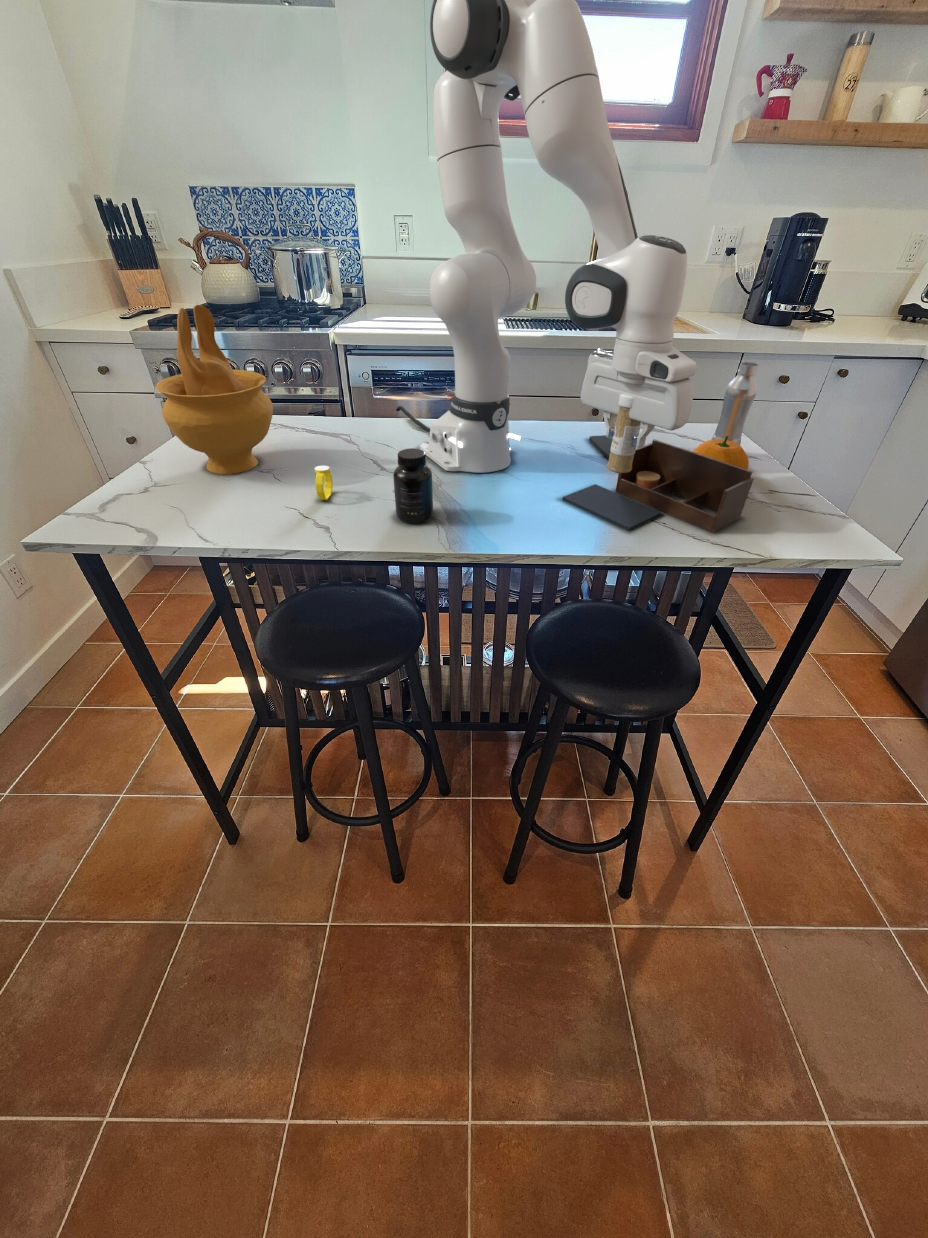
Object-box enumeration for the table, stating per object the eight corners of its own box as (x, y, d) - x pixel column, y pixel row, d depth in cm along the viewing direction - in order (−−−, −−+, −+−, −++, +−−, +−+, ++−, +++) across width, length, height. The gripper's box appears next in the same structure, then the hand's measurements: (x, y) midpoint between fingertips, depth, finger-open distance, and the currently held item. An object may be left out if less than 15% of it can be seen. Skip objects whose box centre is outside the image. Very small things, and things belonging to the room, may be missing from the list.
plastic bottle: (742, 457, 127) (773, 365, 115) (724, 463, 124) (754, 369, 112) (718, 449, 131) (745, 358, 119) (700, 454, 128) (726, 362, 116)
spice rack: (615, 491, 111) (623, 448, 106) (642, 480, 116) (651, 438, 110) (713, 533, 98) (729, 485, 92) (739, 518, 103) (756, 472, 97)
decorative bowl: (243, 490, 108) (201, 320, 90) (157, 475, 113) (101, 311, 95) (301, 454, 124) (276, 302, 106) (223, 441, 129) (186, 295, 111)
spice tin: (628, 491, 111) (631, 474, 109) (641, 485, 114) (645, 468, 111) (647, 499, 109) (651, 482, 106) (660, 493, 111) (665, 476, 109)
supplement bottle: (398, 507, 104) (394, 444, 96) (434, 508, 104) (433, 446, 96) (393, 524, 98) (389, 459, 91) (431, 525, 98) (430, 461, 91)
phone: (616, 434, 136) (642, 456, 124) (615, 438, 136) (641, 460, 124) (587, 435, 134) (611, 458, 123) (587, 439, 135) (610, 461, 123)
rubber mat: (562, 499, 108) (562, 496, 107) (594, 486, 113) (595, 484, 112) (628, 530, 98) (629, 527, 98) (661, 515, 103) (662, 512, 103)
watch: (328, 504, 104) (324, 474, 101) (314, 503, 104) (309, 474, 101) (337, 491, 109) (333, 462, 105) (323, 490, 109) (319, 461, 105)
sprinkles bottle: (603, 464, 102) (616, 389, 94) (627, 464, 103) (641, 388, 94) (611, 474, 99) (625, 396, 90) (635, 473, 99) (651, 396, 91)
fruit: (692, 468, 122) (705, 422, 115) (747, 481, 116) (764, 434, 110) (674, 485, 114) (687, 437, 108) (733, 500, 109) (750, 451, 103)
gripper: (578, 349, 94) (568, 430, 102) (684, 372, 81) (662, 462, 90) (602, 344, 97) (590, 423, 105) (707, 366, 85) (684, 454, 93)
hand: (624, 441), depth 97 cm, fingers closed on sprinkles bottle, 4 cm apart
